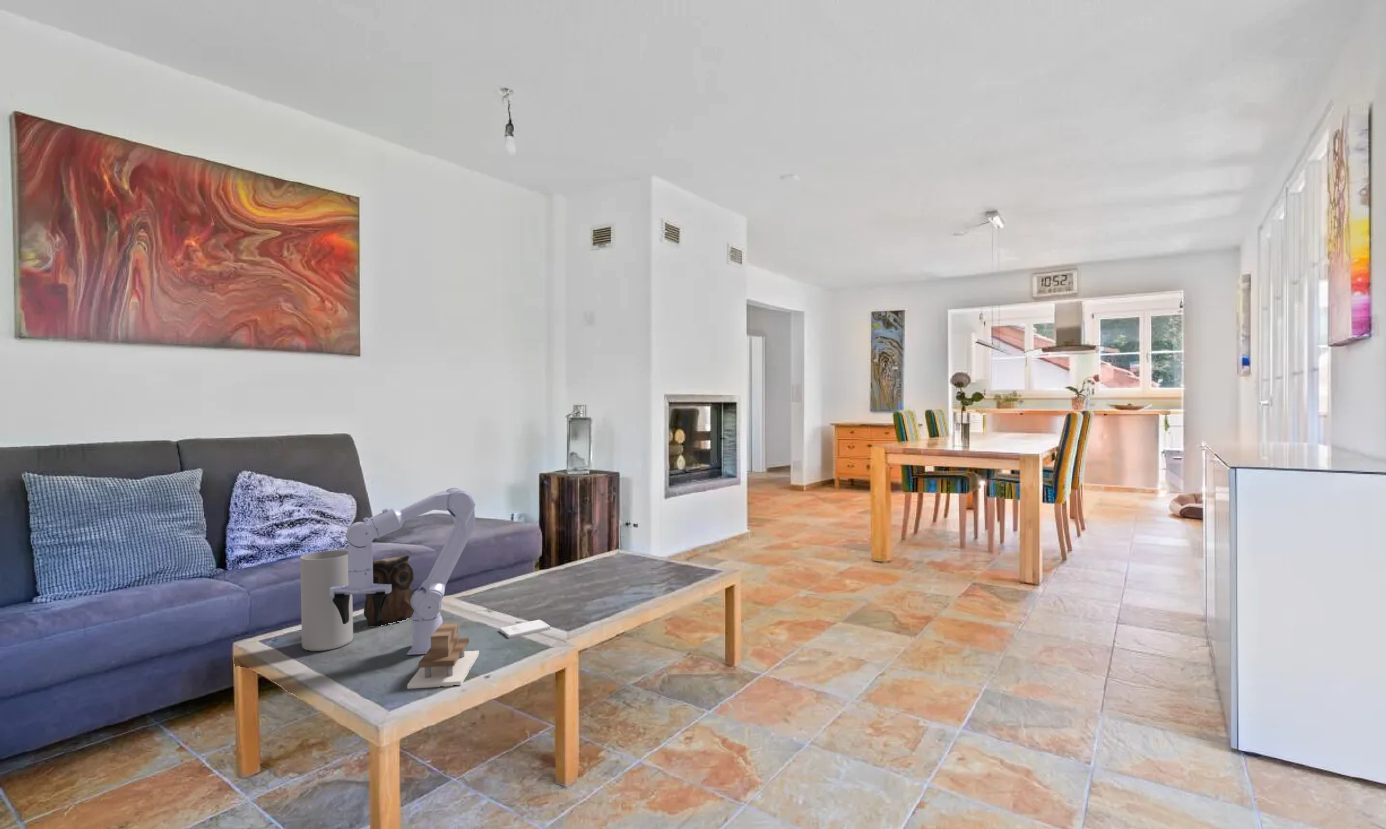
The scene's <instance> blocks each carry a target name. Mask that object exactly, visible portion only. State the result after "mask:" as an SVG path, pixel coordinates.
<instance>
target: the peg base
mask: <svg viewBox="0 0 1386 829" xmlns="http://www.w3.org/2000/svg"><path fill="white" fill-rule="evenodd" d="M479 655H480V650H464V651H463V652H462V654H461V656H460V657H459V659H458V660H457V662H456V663H455V665H454V666H440V667H423V668H418V670H417V671H416V673H415V674H414V676H412V678H411V679H410V680H409V682H408V683H407V690H410V689H422V688H423V689H424V688H425V689H426V688H441V687H440V686H444V687H454V686H453V685H460V686H462V685H463V683H464V681H465V680H466V677H467V676H468V674H469V672H470V671H469V670H471V668H472V667H473V665H474V664H475V662H476V660H477V658H478V657H479ZM461 684H462V685H461Z"/></svg>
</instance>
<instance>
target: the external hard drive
mask: <svg viewBox="0 0 1386 829" xmlns="http://www.w3.org/2000/svg"><path fill="white" fill-rule="evenodd" d="M548 629H549V630H551V626H550V625H549V624H547V623H546V622H545V621H543V620H541V619H536V620H532V621H527V622H523V623H521V622H520V623H517V624H513V625H509V626H508V625H507V626H503V627H499V628H498V631H499V632H500V633H501V634H503V635H504V636H506V637H507V638H508V639H513V638H517V637H523V636H527V635H530V634H534V633H535V634H536V633H540V632H544V631H548Z"/></svg>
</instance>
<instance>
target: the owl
mask: <svg viewBox="0 0 1386 829" xmlns="http://www.w3.org/2000/svg"><path fill="white" fill-rule="evenodd" d="M409 559H410V555H403V556H395V557H390V558H380V559H378V560H373V584H392V591H391V592H390V593H389V594H388V596H387V598H386V600H385V602H384V605H383V608H382V611H381V616H380V620H379V621H378V622H374V606H373V600H372V596H374V595H376V593H373V594H364V596H365V601H364V605H363V606H364V607H363V617H364V618H365V619H366V621H367V627H368V626H381V625H385V624H388V623H393V622H397V621H402V620H406V619H407V618H410V617H411V616H412V615H413V613H414V611H415V610H414V609H413V608H412V606H411V603H410V600H411V596H412V595H413V593H414V592H415V591H414V590H413V589H412V586H411V585H412V583H413V581H414V580H415V577H414V576H415V575H414V569H413V568H412V566H411V564H410V562H409ZM385 626H386V625H385Z"/></svg>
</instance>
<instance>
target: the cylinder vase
mask: <svg viewBox="0 0 1386 829" xmlns="http://www.w3.org/2000/svg"><path fill="white" fill-rule="evenodd" d="M348 552H349V550H346V549H334V550H330V549H329V550H323V551H315V552H310V553H306V554H303V555H301V556H300V567H299V568H300V599H301V600H300V607H301V608H300V611H301V612H300V613H301V620H300V622H301V647H302V648H303V649H304V650H306V651H308V650H309V652H310V651H311V652H324V651H330V650H334V649H338V648H341V647H344V646H346V645H349V643H351V642H352V640H353V639H354V615H353V614H354V612H353V610H354V609H353V607H354V606H353V604H354V603H353V594H351V595H350V599H349V622H347V623H346V624H343V622H342V618H341V615H340V613H339V611H338V609H337V607H336V605H335V604H334V603H333V598H334V596H330V588H332V587H337V586H346V585H348Z"/></svg>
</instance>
